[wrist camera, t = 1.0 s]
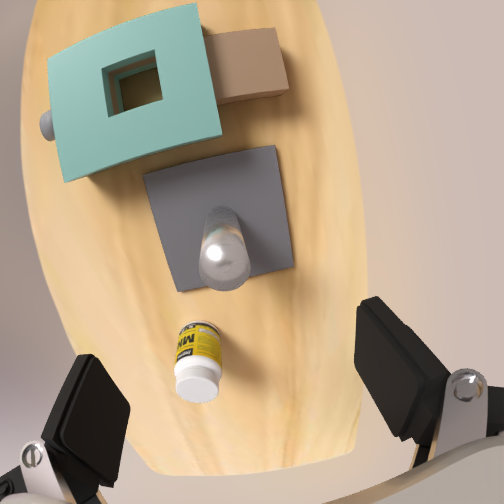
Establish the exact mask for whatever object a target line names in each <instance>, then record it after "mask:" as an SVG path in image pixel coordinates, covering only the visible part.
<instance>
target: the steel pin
mask: <svg viewBox="0 0 504 504" xmlns="http://www.w3.org/2000/svg"><path fill="white" fill-rule="evenodd" d="M250 270H251V265H250V260H249V257H248V253H247V250H246V246H245V243H244V239H243V236H242V232H241V229H240V225H239V222H238V218H237V215H236V214H235V212H234V211H233V210H231V209H230V208H228V207H223V206H220V207H216V208H214V209H212V210H211V211H210V212H209V213H208V214H207V216H206V220H205V226H204V232H203V239H202V246H201V253H200V260H199V274H200V277H201V279H202V280H203V282H204V283H205V284H206V285H207V286H209V287H210V288H212V289H214V290H217V291H231V290H234V289H237V288H239V287H240V286H241V285H243V284H244V283H245V282H246V280H247V279H248V277H249V274H250Z"/></svg>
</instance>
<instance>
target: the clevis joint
mask: <svg viewBox="0 0 504 504" xmlns="http://www.w3.org/2000/svg"><path fill="white" fill-rule="evenodd" d="M47 60H48V83H49V95H50V105H51V110H49V111H47V112H45V113H43V114H42V116H41V118H40V129H41V133H42V135H43V136H44V138H45V139H46V140H48V141H53V140H56V146H57V151H58V156H59V161H60V165H61V170H62V174H63V178H64V183H67V182H70V181H73V180H76V179H80V178H83V177H87V176H89V175H92V174H94V173H97V172H100V171H103V170H105V169H108V168H111V167H114V166H117V165H120V164H123V163H126V162H129V161H132V160H135V159H138V158H141V157H145V156H148V155H151V154H155V153H158V152H162V151H165V150H169V149H172V148H176V147H180V146H184V145H188V144H192V143H196V142H200V141H205V140H209V139H214V138H218V137H222V129H221V124H220V119H219V114H218V109H217V105H220V104H225V103H231V102H236V101H242V100H248V99H255V98H262V97H270V96H278V95H282V94H283V93H285V92H286V91H287V90H288V89H289V85H288V80H287V75H286V71H285V67H284V62H283V58H282V54H281V50H280V45H279V41H278V37H277V34H276V30H275V28H262V29H251V30H242V31H234V32H227V33H220V34H214V35H209V36H204V37H203V34H202V29H201V24H200V19H199V14H198V9H197V4H196V3H191V4H187V5H182V6H178V7H174V8H170V9H166V10H162V11H159V12H155V13H152V14H148V15H145V16H142V17H139V18H136V19H133V20H130V21H127V22H124V23H122V24H119V25H117V26H114V27H111V28H109V29H107V30H104V31H102V32H99V33H97V34H95V35H93V36H91V37H88V38H86V39H84V40H82V41H80V42H78V43H76V44H74V45H72V46H70V47H68V48H66V49H64V50H63V51H61V52H59V53H57V54H55V55H54V56H52V57H50V58H49V59H47ZM155 67H157V68H158V74H159V80H160V85H161V91H162V96H163V100H159V101H156V102H153V103H149V104H146V105H143V106H140V107H137V108H134V109H131V110H128V111H125V112H124V107H123V101H122V95H121V89H120V82H119V80H120V79H122V78H125V77H128V76H131V75H133V74H136V73H139V72H142V71H146V70H149V69H152V68H155Z"/></svg>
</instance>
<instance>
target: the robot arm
mask: <svg viewBox="0 0 504 504" xmlns="http://www.w3.org/2000/svg"><path fill="white" fill-rule="evenodd" d="M354 364H355V368H356V370H357V372H358V373H359V375H360V377H361V379H362V380H363V382H364V384H365V386H366V387H367V389H368V391H369V392H370V394H371V396H372V398H373V400H374V401H375V403H376V405H377V407H378V409H379V411H380V412H381V414H382V416H383V417H384V420H385V421H386V423H387V425H388V427H389V429H390V430H391V432H392V434H393V435H394V437H398V436H399V437H400V439H401V441H402V442H403V441H405V440H407V439H409V438H411V437H412V438H413V440H414V442H415V443H416V444H417V445H416V449H415V452H414V455H413V459H412V462H411V465H410V468H409V471H407V472H405V473H403V474H401V475H399V476H396V477H395V478H392V479H390V480H387V481H385V482H383V483H380V484H378V485H375V486H373V487H370V488H368V489H365V490H363V491H360V492H357V493H354V494H352V495H349V496H346V497H343V498H340V499H337V500H333V501H330V502H327V503H323V504H504V388H502V387H493V386H487V382H486V380H485V378H484V376H483V375H482V374H480V373H479V372H477V371H475V370H473V369H468V368H467V369H460V370H457V371H455V372H454V373H453V374H451V373H450V372H449V371H448V370H447V369H446V368H445V366H444V365H443V364H442V363H441V362H440V360H439V359H438V358H437V357H436V356H435V355H434V354H433V352H432V351H431V350H430V349H429V348H428V347H427V346H426V345H425V344H424V342H423V341H422V340H421V339H420V338H419V337H418V336H417V335H416V334H415V333H414V331H413V330H412V329H411V328H410V327H408V326H407V325H405V324H404V323H403V322H402V321H401V320H400V319H399V318H398V317H397V316H396V315H395V314H394V313H393V312H392V310H391V309H390V308H389V307H388V306H387V305H386V304H385V303H384V302H383V301H382V300H381V299H380V298H379V297H378V296H375V297H372V298H369V299H365V300H362V301H361V304H360V306H358V307H357V312H356V337H355V353H354ZM129 415H130V405H129V402H128V401H127V400H126V398H125V397H124V396H123V394H122V393H121V391H120V390H119V389H118V387H117V386H116V384H115V383H114V381H113V380H112V379H111V377H110V376H109V374H108V373H107V371H106V369H105V368H104V366H103V365H102V363H101V362H100V360H99V359H98V358H96V357H95V356H94V355H93V354H83V355H78V356H77V358H76V360H75V362H74V364H73V366H72V368H71V370H70V372H69V374H68V376H67V378H66V380H65V382H64V384H63V386H62V388H61V390H60V393H59V395H58V397H57V399H56V402H55V404H54V406H53V408H52V411H51V413H50V415H49V418H48V420H47V422H46V425H45V427H44V430H43V432H42V435H41V438H42V439H43V440H44V441H45V444H42V443H41V442H40V441H37V440H32V441H29V442H28V443H26V444H25V445H24V446H23V448H22V449H21V451H20V455H19V462H20V465H19V466H17V467H16V468H14V469H12V470H11V471H9V472H8V473H6V474H4V475H3V476H1V477H0V504H107V502H106V500H105V499H104V497H103V496H102V494H101V492H100V491H99V489H98V487H99V484H100V485H101V486H106V487H111V488H113V487H114V482H115V481H116V480H117V478H118V472H119V466H120V460H121V455H122V449H123V444H124V439H125V434H126V429H127V424H128V419H129Z"/></svg>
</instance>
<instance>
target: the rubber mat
mask: <svg viewBox="0 0 504 504" xmlns="http://www.w3.org/2000/svg"><path fill="white" fill-rule="evenodd" d="M143 178H144V182H145V186H146V190H147V194H148V198H149V201H150V205H151V209H152V212H153V216H154V220H155V223H156V226H157V230H158V233H159V237H160V240H161V243H162V246H163V250H164V253H165V256H166V259H167V262H168V265H169V268H170V271H171V274H172V277H173V280H174V283H175V286H176V289H177V292H180V291H185V290H190V289H195V288H200V287H204V286H207V285H206V284H205V283H204V282H203V280H202V279H201V277H200V274H199V260H200V253H201V246H202V239H203V232H204V226H205V220H206V216H207V214H208V213H209V212H210V211H211V210H212V209H214V208H216V207H220V206H223V207H228V208H230V209H231V210H233V211H234V212H235V214H236V215H237V218H238V222H239V225H240V229H241V232H242V236H243V239H244V243H245V246H246V250H247V253H248V257H249V260H250V265H251V270H250V274H249V277H251V276H255V275H260V274H264V273H269V272H273V271H277V270H282V269H286V268H290V267H294V264H293V256H292V249H291V242H290V235H289V229H288V222H287V215H286V209H285V203H284V196H283V190H282V184H281V178H280V172H279V167H278V161H277V155H276V150H275V145H271V146H265V147H259V148H254V149H248V150H243V151H238V152H233V153H228V154H223V155H219V156H214V157H210V158H205V159H201V160H197V161H193V162H188V163H184V164H181V165H177V166H173V167H169V168H165V169H162V170H158V171H155V172H151V173H148V174H144V175H143Z"/></svg>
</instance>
